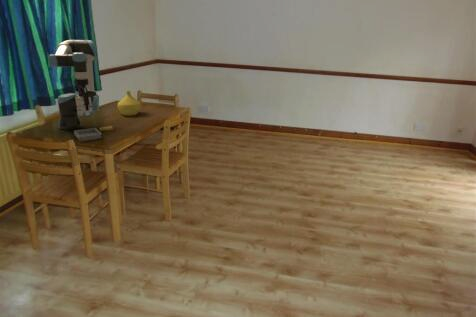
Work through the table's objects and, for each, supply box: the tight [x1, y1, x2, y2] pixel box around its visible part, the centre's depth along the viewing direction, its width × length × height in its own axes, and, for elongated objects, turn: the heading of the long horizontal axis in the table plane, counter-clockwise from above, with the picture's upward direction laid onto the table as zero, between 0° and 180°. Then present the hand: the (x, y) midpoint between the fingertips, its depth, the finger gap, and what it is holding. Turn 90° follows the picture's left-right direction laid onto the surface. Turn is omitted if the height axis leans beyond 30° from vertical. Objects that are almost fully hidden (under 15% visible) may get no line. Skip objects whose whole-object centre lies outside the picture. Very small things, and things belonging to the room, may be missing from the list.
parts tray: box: [73, 127, 103, 143], centre depth 243 cm, size 16×14×3 cm
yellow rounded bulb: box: [117, 90, 142, 117], centre depth 299 cm, size 18×18×19 cm
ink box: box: [75, 97, 94, 118], centre depth 236 cm, size 9×5×12 cm, turn 69°
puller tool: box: [98, 125, 114, 132], centre depth 260 cm, size 8×4×2 cm, turn 125°
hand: (85, 113), depth 238 cm, fingers closed on ink box, 9 cm apart
